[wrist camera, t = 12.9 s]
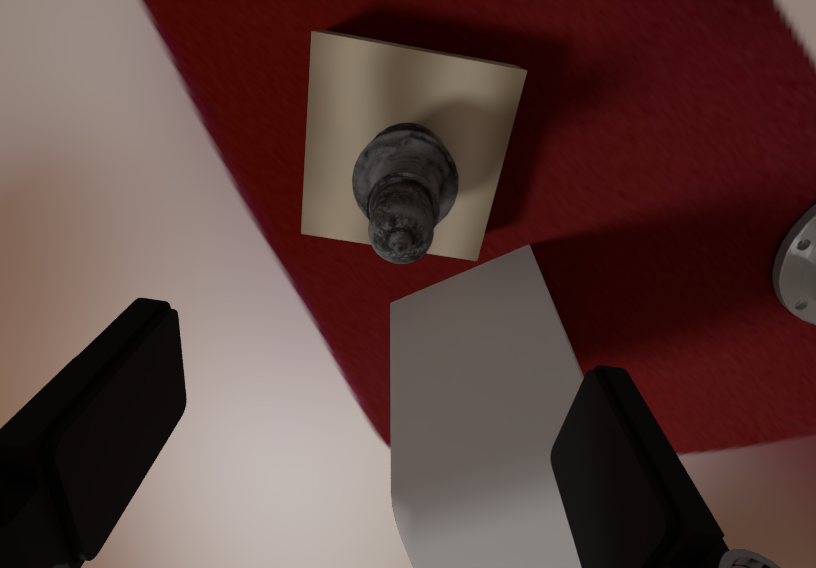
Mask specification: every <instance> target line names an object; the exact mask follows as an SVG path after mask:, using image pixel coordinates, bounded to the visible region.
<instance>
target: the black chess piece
mask: <svg viewBox="0 0 816 568" xmlns="http://www.w3.org/2000/svg"><path fill="white" fill-rule="evenodd" d="M458 184H459V176H458V172H457V168H456V165H455V162H454V160H453V158H452V157H451V155H450V153H449V151H448V150H447V149H446V148H445V146H444V144H443V142H442V141H441V139H440V138H439V137H438V136H437V135H436V134H435V133H434V132H433V131H431V130H429V129H427V128H425V127H424V126H421V125H417V124H413V123H399V124H396V125H393V126H390V127H387V128H386V129H384V130H383V131H381V132H380V133H378V135H377V136H376V137H375V138H374V139H373V140H372V141H371V142H370V143H369V144H368V145H367V146H366V147H365V148H364V150H363V151H362V152H361V153H360V155H359V157H358V159H357V161H356V163H355V166H354V170H353V176H352V186H353V194H354V197H355V200H356V202H357V205H358V207H359V208H360V210H361V211H362V212H363V214H364V215H365V217H366V218H368V220H369V226H368V234H369V239H370V242H371V244H372V247H373V248H374V250H375V251H376V252H377V254H379V255H380V256H381V257H382V258H383V259H385V260H387V261H389V262H392V263H397V264H408V263H411V262H415V261H416V260H418V259H420V258H421V257H422V256H424V255H425V254H426V253H427V251H428V249H429V248H430V246H431V244H432V240H433V237H434V228H435V227H436V225H437V224H439V223H440V222H441V221H442V220H443V219H444V218H445V217H446V216H447V215H448V213H449V212H450V210H451V208H452V207H453V205H454V204H455V200H456V197H457V193H458Z"/></svg>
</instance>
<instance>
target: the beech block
mask: <svg viewBox="0 0 816 568" xmlns="http://www.w3.org/2000/svg"><path fill="white" fill-rule="evenodd" d="M526 74H527V70H525V69H523V68H520V67H518V66H516V65H512V64H506V63H501V62H496V61H490V60H485V59H479V58H474V57H468V56H463V55H457V54H452V53H446V52H441V51H436V50H430V49H425V48H419V47H414V46H408V45H403V44H397V43H392V42H387V41H381V40H376V39H370V38H365V37H359V36H354V35H348V34H343V33H337V32H332V31H327V30H320V31H312V33H311V53H310V72H309V91H308V110H307V129H306V149H305V168H304V187H303V206H302V225H301V234H307V235H313V236H320V237H326V238H333V239H339V240H345V241H352V242H358V243H364V244H371V242H370V239H369V234H368V226H369V220H368V218H366V217H365V215H364V214H363V212H362V211H361V210H360V208H359V207H358V205H357V202H356V200H355V197H354V194H353V186H352V176H353V170H354V166H355V163H356V161H357V159H358V157H359V155H360V153H361V152H362V151H363V150H364V148H365V147H366V146H367V145H368V144H369V143H370V142H371V141H372V140H373V139H374V138H375V137H376V136H377V135H378V133H380V132H381V131H383V130H384V129H386V128H387V127H390V126H393V125H396V124H399V123H413V124H417V125H421V126H424V127H425V128H427V129H429V130H431V131H433V132H434V133H435V134H436V135H437V136H438V137H439V138H440V139H441V141H442V142H443V144H444V146H445V148H446V149H447V150H448V151H449V153H450V155H451V157H452V158H453V160H454V162H455V165H456V168H457V172H458V176H459V184H458V193H457V197H456V200H455V204H454V205H453V207H452V208H451V210H450V212H449V213H448V215H447V216H446V217H445V218H444V219H443V220H442V221H441V222H440V223H439V224H437V225H436V227H435V228H434V237H433V240H432V244H431V246H430V248H429V249H428V251H427V253H428V254H435V255H441V256H447V257H454V258H460V259H467V260H473V261H477V260H478V256H479V252H480V248H481V244H482V241H483V237H484V233H485V229H486V226H487V222H488V218H489V214H490V210H491V207H492V203H493V199H494V195H495V191H496V188H497V184H498V180H499V176H500V173H501V169H502V165H503V161H504V157H505V154H506V150H507V146H508V142H509V138H510V135H511V131H512V127H513V123H514V119H515V116H516V112H517V108H518V104H519V101H520V97H521V93H522V89H523V85H524V82H525V78H526ZM371 245H372V244H371Z"/></svg>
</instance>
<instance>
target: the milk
mask: <svg viewBox="0 0 816 568" xmlns="http://www.w3.org/2000/svg"><path fill="white" fill-rule="evenodd" d="M390 377H391V497H392V507H393V512H394V516H395V521H396V524H397V527H398V530H399V533H400V536H401V539H402V541H403V544H404V546H405V549H406V551H407V553H408V556H409V558H410V561H411V563H412V565H413V567H414V568H582V567H581V564H580V561H579V557H578V554H577V551H576V547H575V544H574V540H573V537H572V534H571V530H570V527H569V523H568V520H567V517H566V513H565V510H564V507H563V503H562V500H561V496H560V493H559V490H558V486H557V483H556V480H555V476H554V473H553V469H552V466H551V460H550V456H551V450H552V447H553V445H554V442H555V440H556V438H557V436H558V434H559V431H560V429H561V427H562V425H563V423H564V420H565V418H566V416H567V414H568V412H569V409H570V407H571V405H572V403H573V401H574V398H575V396H576V394H577V392H578V390H579V387H580V385H581V383H582V381H583V379H584V376H583V374H582V371H581V369H580V366H579V364H578V361H577V359H576V356H575V354H574V351H573V349H572V347H571V344H570V342H569V339H568V337H567V334H566V332H565V330H564V327H563V325H562V322H561V320H560V317H559V315H558V313H557V310H556V308H555V305H554V303H553V300H552V298H551V296H550V293H549V291H548V288H547V286H546V284H545V281H544V279H543V276H542V274H541V271H540V269H539V267H538V264H537V262H536V259H535V257H534V254H533V252H532V250H531V247H530V245H526V246H524V247H522V248H519V249H517V250H514V251H512V252H510V253H507V254H505V255H503V256H500V257H498V258H496V259H493V260H491V261H488V262H486V263H484V264H481V265H479V266H477V267H474V268H472V269H470V270H467V271H465V272H462V273H460V274H458V275H455V276H453V277H451V278H448V279H446V280H444V281H441V282H439V283H436V284H434V285H432V286H429V287H427V288H425V289H422V290H420V291H418V292H415V293H413V294H410V295H408V296H406V297H403V298H401V299H399V300H396V301H394V302H392V303H390Z"/></svg>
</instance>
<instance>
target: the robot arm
mask: <svg viewBox="0 0 816 568" xmlns="http://www.w3.org/2000/svg"><path fill="white" fill-rule="evenodd" d="M773 286H774V290H775V293H776V295H777V297H778V299H779V300H780V302H781V304H782V305H784V306H785V307H786V308H787V309H788V310H789V311H790V312H792V313H793V314H794V315H796V316H797V317H799V318H800V319H802V320H804V321H806V322H809V323H812V324H815V325H816V204H815V205H814V206H813V207H811V208H810V209H809V210H808V211H807V212H806V213H805V214H804V215H803V216H802V217H801V218H800V219H799V220H798V221H797V222H796V224H795V225H794V226H793V227H792V228H791V230H790V231H789V233H788V234H787V236H786V237H785V239H784V240H783V242H782V244H781V246H780V248H779V251H778V253H777V255H776V258H775V262H774V267H773ZM185 407H186V389H185V379H184V369H183V359H182V348H181V338H180V328H179V319H178V312H177V311H176V310H175V309H171V307H170V304H169V303H168V302H166V301H160V300H153V299H147V298H138V299H136V300H135V301H134V302H133V303H132V304H131V305H130V306H129V307H128V308H127V309H126V310H125V311H123V312H122V313H121V314H120V315H119V316H118V317H117V318H116V319H115V320H114V321H113V322H112V323H111V324H110V325H109V326H108V327H107V328H106V329H105V330H104V331H103V332H102V333H101V334H100V335H99V336H98V337H97V338H95V339H94V340H93V341H92V342H91V343H90V344H89V345H88V346H87V347H86V348H85V349H84V350H83V351H82V352H81V353H80V354H79V355H78V356H76V357H75V358H74V359H72V361H71V362H69V363H68V364H67V365H66V366H65V367H64V368H63V369H62V370H61V371H60V372H59V373H58V374H57V375H56V376H55V377H54V378H53V379H52V380H51V381H50V382H49V383H48V384H47V385H46V386H44V387H43V388H42V389H41V390H40V391H39V392H38V393H37V394H36V395H35V396H34V397H33V398H32V399H31V400H30V401H29V402H28V403H27V404H26V405H25V406H24V407H23V408H22V409H21V410H19V412H17V413H16V414H15V415H14V416H13V417H12V418H11V419H10V420H9V421H8V422H7V423H6V424H5V425H4V426H3V427H2V428H1V429H0V568H81V566H82V564H83V563H84V561H85V560H87V561H90V560H92V559H94V558H95V557H96V556H97V554H98V553H99V551H100V550H101V548H102V546H103V545H104V543H105V542H106V540H107V538H108V537H109V535H110V533H111V532H112V530H113V528H114V527H115V525H116V524H117V522H118V520H119V518H120V517H121V515H122V514H123V512H124V510H125V509H126V507H127V506H128V504H129V502H130V501H131V499H132V497H133V496H134V494H135V492H136V491H137V489H138V487H139V486H140V484H141V483H142V481H143V479H144V478H145V476H146V474H147V472H148V471H149V469H150V467H151V466H152V464H153V463H154V461H155V459H156V458H157V456H158V455H159V453H160V451H161V450H162V448H163V446H164V445H165V443H166V442H167V440H168V438H169V437H170V435H171V433H172V432H173V430H174V428H175V427H176V425H177V423H178V422H179V420H180V419H181V417H182V415H183V413H184V410H185ZM550 460H551V466H552V469H553V473H554V476H555V480H556V483H557V486H558V490H559V493H560V496H561V500H562V503H563V507H564V510H565V513H566V517H567V520H568V523H569V527H570V530H571V534H572V537H573V540H574V544H575V547H576V551H577V554H578V557H579V561H580V564H581V567H582V568H781V567H779V566H778V565H777V564H775V563H774V562H773V561H771V560H769V559H767V558H765V557H764V556H762V555H760V554H758V553H755V552H752V551H749V550H745V549H732V550H729V549H728V547H727V545H726V544H725V542H724V540H723V539H722V538H723V537H724V534H723V532H722V531H721V529H720V527H719V525H718V524H717V522H716V520H715V519H714V517H713V515H712V513H711V512H710V510H709V508H708V507H707V505H706V503H705V502H704V500H703V498H702V497H701V495H700V493H699V492H698V490H697V488H696V487H695V485H694V483H693V481H692V480H691V478H690V477H689V475H688V473H687V471H686V470H685V468H684V466H683V465H682V463H681V461H680V460H679V458H678V456H677V455H676V453H675V451H674V449H673V448H672V446H671V444H670V443H669V441H668V439H667V438H666V436H665V434H664V433H663V431H662V429H661V428H660V426H659V424H658V423H657V421H656V419H655V418H654V416H653V414H652V412H651V411H650V409H649V407H648V406H647V404H646V402H645V401H644V399H643V397H642V396H641V394H640V392H639V391H638V389H637V387H636V386H635V384H634V382H633V380H632V379H631V377H630V375H629V374H628V372H627V371H626V370H625V369H623V368H617V367H610V366H603V365H598V366H596V367H595V368H594V370H589V371H587V373H586V374H585V376H584V379H583V381H582V383H581V385H580V387H579V390H578V392H577V394H576V396H575V398H574V401H573V403H572V405H571V407H570V409H569V412H568V414H567V416H566V418H565V420H564V423H563V425H562V427H561V429H560V431H559V434H558V436H557V438H556V440H555V442H554V445H553V447H552V450H551V456H550Z"/></svg>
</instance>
